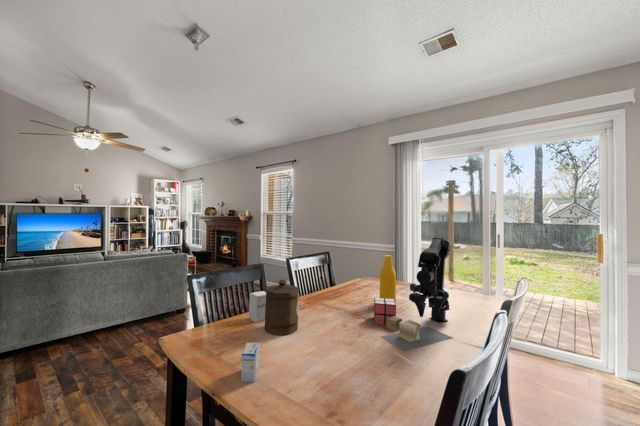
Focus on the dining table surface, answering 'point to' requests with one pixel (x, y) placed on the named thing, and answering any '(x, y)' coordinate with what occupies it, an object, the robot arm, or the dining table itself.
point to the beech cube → (410, 330)
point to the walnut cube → (393, 323)
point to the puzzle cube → (383, 309)
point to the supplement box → (257, 306)
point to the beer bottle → (388, 279)
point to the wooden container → (281, 309)
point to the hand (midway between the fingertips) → (428, 315)
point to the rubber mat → (427, 338)
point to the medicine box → (250, 362)
